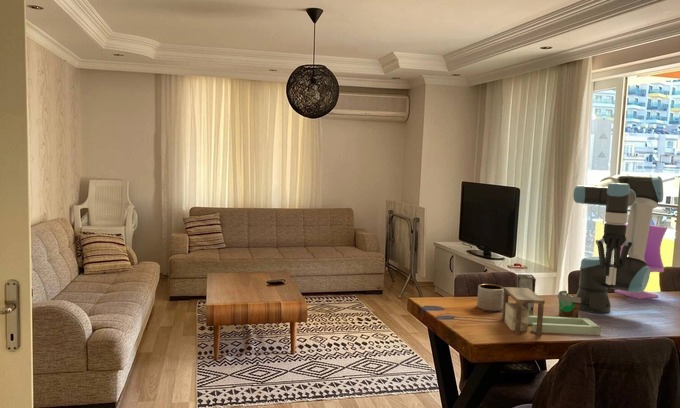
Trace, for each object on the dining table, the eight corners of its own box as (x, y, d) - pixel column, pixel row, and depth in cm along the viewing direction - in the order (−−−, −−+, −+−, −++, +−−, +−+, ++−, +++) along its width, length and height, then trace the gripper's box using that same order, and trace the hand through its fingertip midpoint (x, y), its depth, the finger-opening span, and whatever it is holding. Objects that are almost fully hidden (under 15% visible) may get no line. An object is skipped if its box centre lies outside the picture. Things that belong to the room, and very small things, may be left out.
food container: (550, 312, 232) (552, 290, 231) (564, 313, 232) (566, 290, 231) (564, 321, 219) (566, 297, 218) (579, 321, 220) (581, 297, 219)
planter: (475, 309, 233) (476, 287, 232) (478, 303, 243) (479, 282, 242) (501, 313, 228) (502, 290, 228) (503, 306, 239) (505, 285, 238)
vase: (639, 300, 260) (645, 228, 257) (611, 292, 274) (617, 223, 271) (661, 297, 266) (667, 227, 263) (633, 290, 280) (638, 223, 277)
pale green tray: (587, 325, 215) (587, 318, 215) (600, 335, 204) (600, 327, 204) (524, 322, 216) (524, 315, 216) (533, 331, 205) (534, 324, 204)
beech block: (519, 323, 215) (520, 303, 215) (527, 331, 205) (529, 310, 205) (504, 322, 216) (505, 302, 215) (511, 330, 206) (513, 310, 205)
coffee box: (533, 317, 224) (536, 279, 223) (517, 315, 225) (519, 277, 224) (530, 311, 233) (532, 274, 232) (514, 309, 234) (517, 273, 233)
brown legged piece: (526, 319, 220) (528, 288, 219) (542, 335, 201) (544, 300, 200) (501, 318, 220) (503, 287, 219) (515, 334, 201) (517, 299, 200)
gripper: (629, 223, 209) (623, 282, 211) (592, 221, 210) (587, 281, 212) (639, 225, 202) (633, 287, 204) (601, 224, 202) (596, 285, 204)
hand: (610, 284), depth 208 cm, fingers closed
